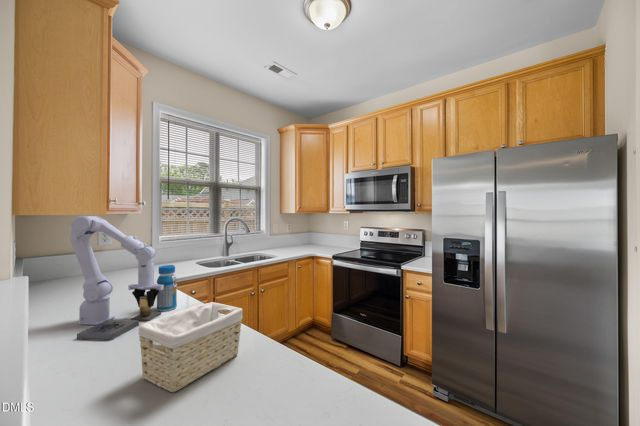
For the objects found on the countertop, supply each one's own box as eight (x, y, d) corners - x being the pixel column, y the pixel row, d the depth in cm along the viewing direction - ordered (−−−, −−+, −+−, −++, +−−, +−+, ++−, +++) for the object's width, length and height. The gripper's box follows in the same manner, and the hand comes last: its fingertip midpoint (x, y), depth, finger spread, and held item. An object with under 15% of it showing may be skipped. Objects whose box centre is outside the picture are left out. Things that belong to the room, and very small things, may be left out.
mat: (130, 320, 111) (130, 318, 111) (143, 313, 119) (143, 312, 119) (148, 321, 111) (148, 319, 111) (161, 314, 119) (161, 312, 119)
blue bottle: (161, 313, 120) (161, 268, 120) (153, 309, 125) (153, 266, 125) (180, 308, 127) (180, 265, 127) (172, 304, 132) (172, 263, 132)
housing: (76, 339, 95) (76, 333, 95) (108, 324, 108) (108, 319, 108) (111, 340, 94) (111, 334, 94) (138, 325, 107) (138, 320, 107)
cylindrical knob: (137, 315, 113) (137, 296, 113) (144, 312, 117) (144, 293, 117) (146, 316, 112) (145, 297, 112) (153, 312, 116) (152, 294, 116)
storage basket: (210, 342, 92) (210, 299, 92) (245, 354, 84) (245, 307, 84) (135, 380, 71) (135, 324, 71) (172, 400, 63) (172, 337, 63)
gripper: (122, 276, 112) (122, 309, 112) (155, 277, 111) (155, 310, 111) (135, 273, 119) (135, 303, 119) (166, 273, 118) (166, 304, 118)
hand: (146, 306), depth 115 cm, fingers closed on cylindrical knob, 4 cm apart
